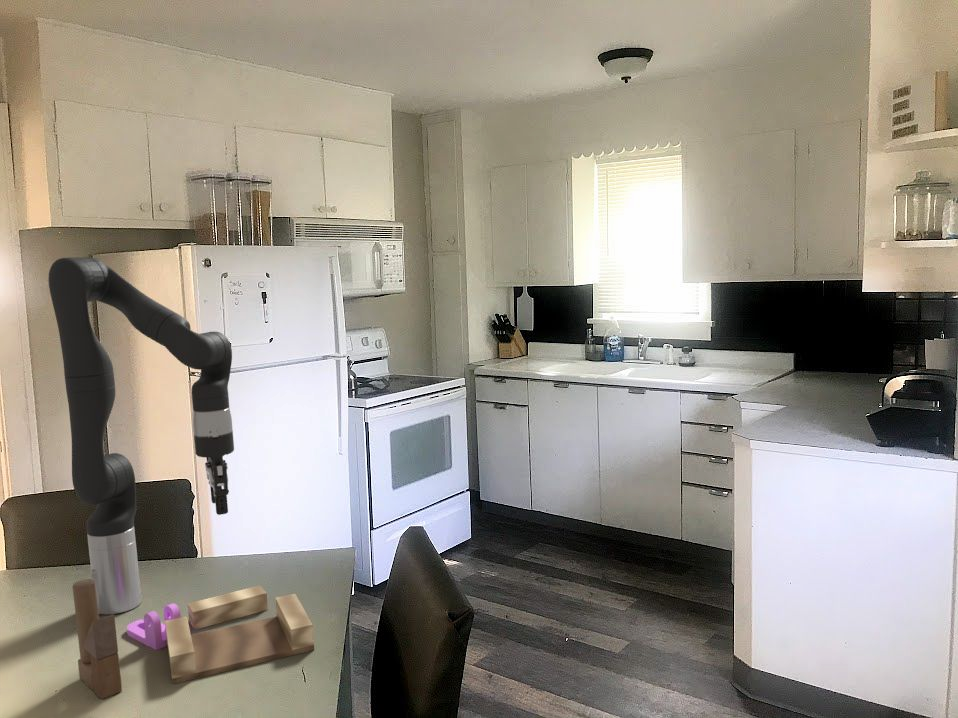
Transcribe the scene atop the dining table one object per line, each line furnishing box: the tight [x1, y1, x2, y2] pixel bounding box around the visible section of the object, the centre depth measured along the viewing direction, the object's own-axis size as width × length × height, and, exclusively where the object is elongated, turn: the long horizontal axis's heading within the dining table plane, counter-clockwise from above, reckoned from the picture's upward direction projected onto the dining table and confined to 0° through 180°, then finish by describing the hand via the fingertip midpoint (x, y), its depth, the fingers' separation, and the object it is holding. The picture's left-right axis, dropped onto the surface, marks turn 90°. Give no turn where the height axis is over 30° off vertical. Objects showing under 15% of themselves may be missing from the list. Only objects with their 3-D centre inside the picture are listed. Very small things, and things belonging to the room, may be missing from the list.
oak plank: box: [187, 585, 269, 630], centre depth 166 cm, size 15×5×4 cm, turn 122°
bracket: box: [126, 602, 182, 651], centre depth 157 cm, size 13×6×7 cm, turn 51°
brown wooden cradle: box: [164, 593, 315, 685], centre depth 151 cm, size 25×16×5 cm, turn 114°
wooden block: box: [72, 578, 123, 700], centre depth 139 cm, size 4×11×18 cm, turn 45°
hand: (219, 508), depth 163 cm, fingers open, 8 cm apart
